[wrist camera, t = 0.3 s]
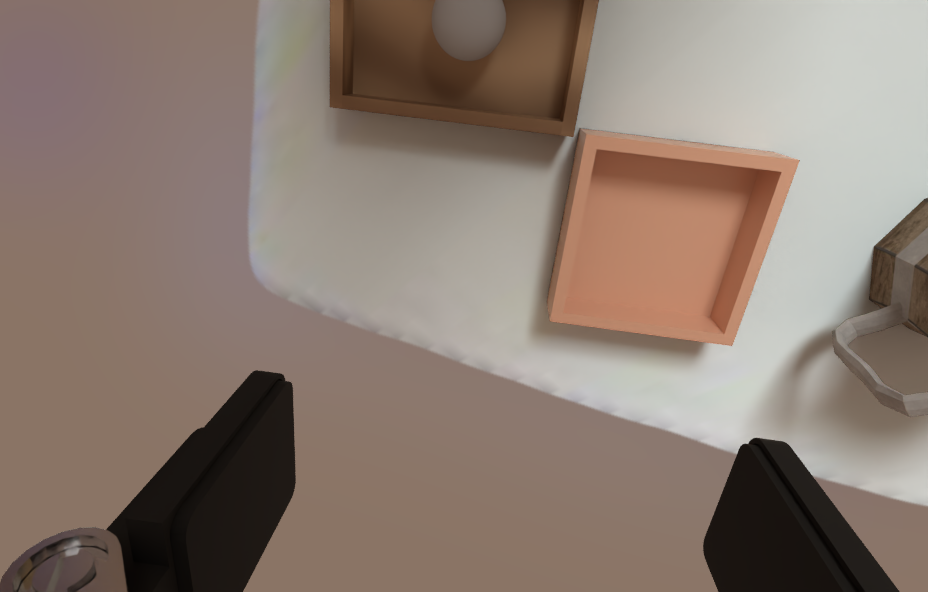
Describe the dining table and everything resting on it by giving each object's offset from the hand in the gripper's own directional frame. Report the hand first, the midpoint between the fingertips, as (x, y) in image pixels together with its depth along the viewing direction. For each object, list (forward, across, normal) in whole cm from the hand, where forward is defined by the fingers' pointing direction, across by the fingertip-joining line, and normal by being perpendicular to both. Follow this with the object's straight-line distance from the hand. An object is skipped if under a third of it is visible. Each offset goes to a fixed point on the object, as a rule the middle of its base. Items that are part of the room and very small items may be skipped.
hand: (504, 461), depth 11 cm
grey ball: (+28, +4, -10) cm, 30 cm away
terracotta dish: (+29, -11, +2) cm, 31 cm away
